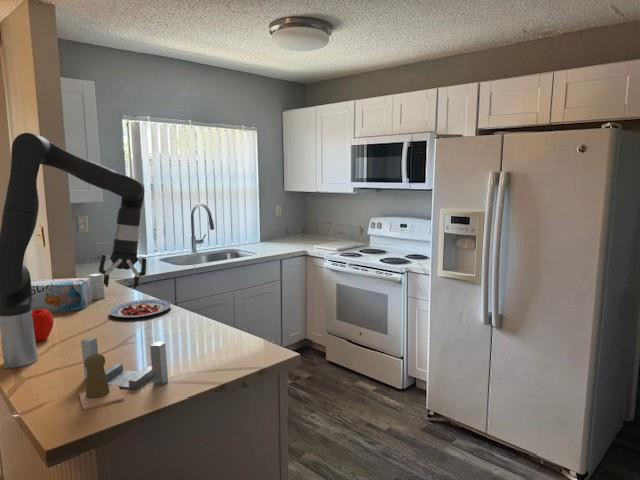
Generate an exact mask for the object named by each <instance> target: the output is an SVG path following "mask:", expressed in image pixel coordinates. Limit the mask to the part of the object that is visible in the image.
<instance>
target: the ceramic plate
mask: <svg viewBox="0 0 640 480" xmlns="http://www.w3.org/2000/svg"><path fill="white" fill-rule="evenodd" d="M171 306H172V304H171V302H170V301H167V300H163V299H139V300H133V301H128V302H124V303H120V304H117V305H115V306H113V307H111V308H110V309H109V310H108V313H109V315H111V316H113V317H116V318H130V319H135V318H144V317H146V318H147V317H150V316H153V315H156V314H159V313H162V312H165V311H167V310H168V309H170V308H171Z"/></svg>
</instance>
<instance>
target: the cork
mask: <svg viewBox="0 0 640 480" xmlns="http://www.w3.org/2000/svg"><path fill="white" fill-rule="evenodd" d="M105 364H106V358H105V356H104V355H103V354H100V353H98V354H94V355H91V356H88V357H87V358H86V359H85V362H84V365H85V367H86V369H87V379H86V385H85V387H86V389H85V392H86V397H87V398H90V399H96V398H100V397H103V396H106V395H107V394H108V393H109V392H110V390H109V386H108V382H107V378H106V374H105V370H106V369H105ZM84 365H83V366H84Z"/></svg>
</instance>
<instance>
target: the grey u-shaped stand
mask: <svg viewBox="0 0 640 480" xmlns="http://www.w3.org/2000/svg"><path fill="white" fill-rule="evenodd" d="M80 344H81V354H82V362H83V365H82V366H83V373H84V379H85V380H87V369H86V367H85V365H84V362H85V359H86V358H87V357H88V356H91V355H94V354H99V349H98V348H99V347H98V338H97V337H91V336H88V337H86V338H84V339H82V340H80ZM149 346H150V347H149V349H150V358H151V359H150V360H151V363H150V364H151V365H148V366H147V367H145V368H144V369H143V370H141V371H139V370H126V369H124V367H123V366H124V365H123V363H114V364H113V365H111V366H109V367H108V368H106V369H104V370H105V374H106V378H107V382H108V386H111V385H115V384H118V386H119V388H120V389H128V390H139V388H141V387H142V386H144V385H145V384H146V383H147V382H149V380H151V379H152V384H153V386H164V385H165V384H166V383H167V382H169V375H168V365H167V364H168V363H167V362H168V361H167V360H168V359H167V350H166V341H165V342H164V341H154V342H153V343H152V344H150V345H149Z"/></svg>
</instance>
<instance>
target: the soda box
mask: <svg viewBox="0 0 640 480" xmlns="http://www.w3.org/2000/svg"><path fill="white" fill-rule="evenodd" d="M31 288H32V302H31V308H32V310H35V309H47V310H48V311H49V312H50V313H54V312H75V311H83V310H84V309H86V308H87V307H88V306H90V305H91V304H92V303H93V299H92V291H91V281H90V278H88V277H79V278H78V277H75V278H73V277H72V278H71V277H70V278H49V279H48V278H47V279H46V278H45V279H44V278H43V279H31Z"/></svg>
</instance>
